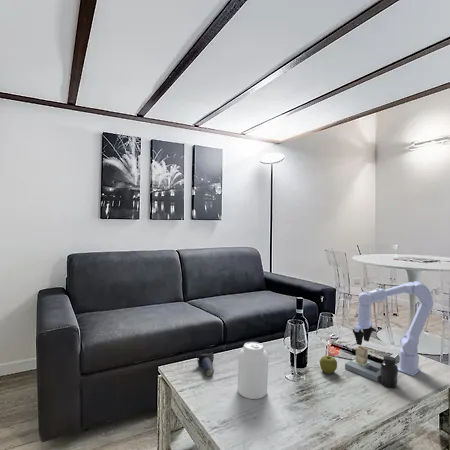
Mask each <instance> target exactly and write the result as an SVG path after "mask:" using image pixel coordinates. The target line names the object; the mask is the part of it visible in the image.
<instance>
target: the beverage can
mask: <svg viewBox="0 0 450 450" xmlns="http://www.w3.org/2000/svg"><path fill="white" fill-rule="evenodd" d="M195 357H196V360H197V366H198V367H202V368H203V373H204V374H205V375H206V376H207V377H211V376H213V375H214V372H215V368H214V366H213V365H214V363H213V362H214V360H215V359H214V357H215V355H214V351H211V352H210V353H198V354H196V356H195Z"/></svg>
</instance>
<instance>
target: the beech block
mask: <svg viewBox="0 0 450 450" xmlns="http://www.w3.org/2000/svg"><path fill="white" fill-rule="evenodd" d="M368 351H369V348H368V347H365V346H362V345H359V346H357V347H355V358H356V361H355V362H358V363H361V364H365V363H367V359H368V356H369V355H368V354H369V353H368Z"/></svg>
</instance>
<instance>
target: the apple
mask: <svg viewBox="0 0 450 450" xmlns="http://www.w3.org/2000/svg"><path fill="white" fill-rule="evenodd" d="M319 366H320V369H321V371H322V372H323V373H325V374H328V375H329V374H333V373H335V371H336V370H337V368H338V361H337V359H336V358H334V357H333V356H332V355H324V356H322V357H321V358H320V360H319Z"/></svg>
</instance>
